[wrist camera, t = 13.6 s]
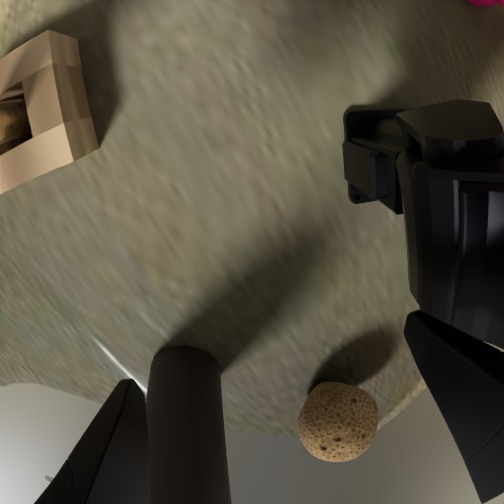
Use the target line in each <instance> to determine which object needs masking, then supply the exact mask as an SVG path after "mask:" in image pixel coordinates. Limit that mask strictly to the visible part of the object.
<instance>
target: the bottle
mask: <svg viewBox="0 0 504 504" xmlns="http://www.w3.org/2000/svg"><path fill="white" fill-rule="evenodd" d="M146 414H147V424H148V434H149V480H150V503H151V504H231V496H230V487H229V476H228V467H227V456H226V445H225V433H224V420H223V407H222V393H221V377H220V368H219V365H218V364H217V362H216V361H215V359H213V358H212V357H211V356H209V355H208V354H206V353H204V352H201V351H199V350H196V349H190V348H173V349H169V350H165V351H163V352H161V353H159V354H158V355H156V357H155V358H154V359H153V361H152V362H151V369H150V376H149V383H148V390H147V398H146Z"/></svg>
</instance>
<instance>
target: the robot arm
mask: <svg viewBox="0 0 504 504" xmlns="http://www.w3.org/2000/svg"><path fill="white" fill-rule="evenodd" d="M351 115H352V116H353V118H354V119H353V121H352V122H350V121H349V117H350V116H351ZM343 122H344V132H345V141H344V143H343V158H344V174H345V179H346V180H347V181H348V196H349V199H350V201H351V202H353V203H354V204H359V203H365V202H371V201H377V200H378V201H380V202H381V203H382V204H384V205H385V206H386V207H388V208H389V209H390V210H392V211H393V212H394V213H396V214H398V215H399V214H404V223H405V233H406V245H407V259H408V279H409V286H410V291H411V293H412V295H413V296H414V298H415V300H416V301H417V303H418V304H419V305H420V310H416V311H413V312H411V313H409V314H408V315H407V319H406V323H405V328H404V336H405V339H406V341H407V343H408V346H409V348H410V350H411V353H412V355H413V357H414V360H415V362H416V364H417V367H418V369H419V371H420V373H421V375H422V377H423V379H424V381H425V383H426V385H427V386H428V388H429V390H430V392H431V394H432V396H433V397H434V399H435V401H436V403H437V405H438V407H439V409H440V411H441V413H442V415H443V417H444V419H445V421H446V423H447V425H448V427H449V429H450V431H451V433H452V436H453V438H454V440H455V442H456V444H457V446H458V448H459V451H460V453H461V455H462V457H463V459H464V461H465V465H466V467H467V469H468V471H469V474H470V476H471V479H472V481H473V483H474V486H475V489H476V491H477V494H478V496H479V499H480V501H481V503H482V504H483V503H485V502H487V501H489V500H491V499H493V498H495V497H497V496H498V495H500V494H502V493H503V492H504V352H501V351H500V350H498V349H497V348H494V347H492V346H491V345H489V344H487V343H490V344H493V345H496V346H498V347H500V348H502V349H504V131H503V127H502V125H501V123H500V121H499V120H498V118H497V116H496V114H495V112H494V110H493V109H492V107H491V105H490V103H487V102H479V101H469V100H453V101H448V102H443V103H438V104H434V105H429V106H425V107H420V108H416V109H412V110H361V111H348V112H346V113H345V114H344V116H343ZM355 194H358V197H357V198H355V199H354V196H355ZM483 341H485V342H487V343H485V342H483ZM34 504H151V503H150V480H149V434H148V424H147V414H146V402H145V396H144V393H143V391H142V390H141V389H140V387H139V386H138V385H137V383H136V382H135V381H134V380H133V379H122V380H120V381H119V383H118V384H117V386H116V387H115V388H114V390H113V391H112V393H111V394H110V396H109V397H108V399H107V400H106V401H105V403H104V404H103V406H102V407H101V409H100V410H99V412H98V413H97V415H96V416H95V418H94V419H93V420H92V422H91V424H90V425H89V427H88V428H87V429H86V431H85V432H84V434H83V435H82V437H81V439H80V440H79V441H78V443H77V444H76V446H75V448H74V449H73V451H72V452H71V454H70V455H69V457H68V459H67V460H66V461H65V463H64V464H63V466H62V467H61V469H60V470H59V472H58V473H57V475H56V476H55V478H54V479H53V480H52V481H51V483H50V484H49V486H48V487H47V488H46V489H45V490H44V492H43V493H42V494H41V496H40V497H39V498H38V499H37V501H36V502H35V503H34Z"/></svg>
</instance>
